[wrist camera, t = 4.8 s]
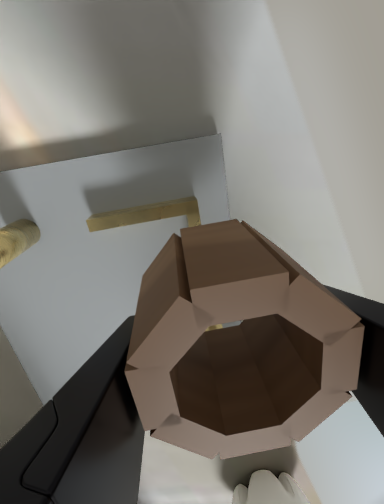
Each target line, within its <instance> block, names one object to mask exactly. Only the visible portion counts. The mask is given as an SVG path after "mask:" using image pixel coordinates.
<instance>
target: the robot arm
mask: <svg viewBox="0 0 384 504" xmlns="http://www.w3.org/2000/svg"><path fill="white" fill-rule="evenodd" d="M322 285H323V284H322ZM323 286H324V287H326V288H327V289H328V290H329V291H330V292H331V293H332V294H334V295H335V296H336V297H337V298H338V299H339V300H340V301H342V302H343V303H344V304H345V305H346V306H347V307H349V308H350V309H351V310H352V311H353V312H354V313H355V314H357V315H358V316H359V317H360V318H361V320H360V321H359V322H360V323H361V324H363V325H364V326H365V327H364V335H363V343H362V351H361V359H360V367H359V375H358V383H357V389H356V390H351V391H352V392H353V394H354V395H355V397H356V398H357V399H358V401H359V402H360V404H361V405H362V407H363V408H364V410H365V411H366V412H367V414H368V415H369V417H370V418H371V419H372V421H373V422H374V424H375V425H376V427H377V428H378V429H379V431H380V432H381V434H382V435H383V437H384V304H383V303H379V302H376V301H373V300H370V299H367V298H364V297H361V296H357V295H354V294H351V293H348V292H345V291H342V290H338V289H335V288H332V287H329V286H326V285H323ZM134 318H135V315H132V316H129V317H128V318H127V319H126V320H125V321H124V322H123V323H122V324H121V325H120V326H119V327H118V328H117V329H116V330H115V331H114V332H113V334H112V335H111V336H110V337H109V338H108V339H107V340H106V341H105V342H104V343H103V344H102V345H101V346H100V347H99V348H98V349H97V350H96V351H95V353H94V354H93V355H92V356H91V357H90V358H89V359H88V360H87V361H86V362H85V363H84V364H83V365H82V366H81V367H80V368H79V369H78V370H77V372H76V373H75V374H74V375H73V376H72V377H71V378H70V379H69V380H68V381H67V382H66V383H65V384H64V385H63V386H62V387H61V388H60V389H59V391H58V392H57V393H56V394H55V395H54V396H53V397H52V399H50V400H49V401H48V402H47V403H46V404H45V405H44V406H43V407H42V408H41V409H40V410H39V412H38V413H37V414H36V415H35V416H34V417H33V418H32V419H31V420H30V421H29V422H28V423H27V424H26V425H25V426H24V427H23V428H22V429H21V430H20V431H19V432H18V433H17V434H16V435H15V436H14V437H13V438H12V439H11V440H10V441H9V442H7V443H6V444H5V445H4V446H3V447H2V448H1V449H0V504H137V501H138V492H139V482H140V472H141V463H142V453H143V444H144V434H145V431H144V428H143V425H142V422H141V419H140V416H139V413H138V410H137V407H136V405H135V402H134V399H133V396H132V393H131V390H130V387H129V384H128V381H127V378H126V375H125V372H124V371H125V366H126V361H127V355H128V350H129V345H130V339H131V334H132V329H133V323H134Z"/></svg>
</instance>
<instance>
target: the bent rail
mask: <svg viewBox="0 0 384 504" xmlns="http://www.w3.org/2000/svg"><path fill="white" fill-rule="evenodd" d="M182 215H186V217H187V222H188V227H193V226H199V225H201V220H200V214H199V207H198V201H197V199H196V197H195V196H191V197H186V198H180V199H175V200H169V201H164V202H158V203H153V204H147V205H141V206H136V207H130V208H125V209H119V210H114V211H108V212H103V213H97V214H92V215H91V216H90V217H89V218H88V219H87V220H86V222H87V226H88V229H89V232H94V231H100V230H105V229H111V228H116V227H122V226H127V225H133V224H138V223H144V222H149V221H155V220H160V219H165V218H171V217H176V216H182ZM221 328H223V326H222V324H218V325H213V326H209V327H208V328H207V329H206V330H205V331H210V330H215V329H221ZM205 331H204V332H205Z"/></svg>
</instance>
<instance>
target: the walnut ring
mask: <svg viewBox="0 0 384 504" xmlns="http://www.w3.org/2000/svg"><path fill="white" fill-rule="evenodd" d="M180 234H181V237H180V236H178V235H177V234H175V233H173V234H172V236H171V237H170V238H169V240H168V241H167V243H166V244H165V245H164V247H163V248H162V249H161V251H160V252H159V254H158V255H157V256H156V258H155V259H154V260H153V262H152V263H151V265H150V266H149V267H148V269H147V270H146V271H145V273H144V274H143V276H142V281H141V286H140V292H139V297H138V302H137V308H136V313H135V318H134V323H133V329H132V334H131V339H130V345H129V350H128V355H127V361H126V366H125V371H124V372H125V375H126V378H127V381H128V384H129V387H130V390H131V393H132V396H133V399H134V402H135V405H136V407H137V410H138V413H139V416H140V419H141V422H142V425H143V428H144V431H147V430H150V436H151V437H154V438H156V439H159V440H162V441H164V442H167V443H170V444H172V445H175V446H178V447H180V448H183V449H186V450H188V451H191V452H194V453H196V454H199V455H202V456H204V457H207V458H210V459H213V458H214V457H215V456H216V455H217V454H218V453H219V454H220V460H222V459H227V458H232V457H237V456H242V455H247V454H252V453H257V452H262V451H267V450H272V449H277V448H282V447H287V446H291V439H294V440H296V441H298V442H299V441H300V440H302V439H303V438H304V437H305V436H306V435H308V434H309V433H310V432H311V431H312V430H313V429H315V428H316V427H317V426H318V425H319V424H320V423H322V422H323V421H324V420H325V419H326V418H328V417H329V416H330V415H331V414H332V413H333V412H335V411H336V410H337V409H338V408H339V407H341V406H342V405H343V404H344V403H345V402H346V401H348V400H349V399H350V398H351V397H352V395H351V394H350V393H349V391H351V390H356V389H357V383H358V375H359V367H360V359H361V351H362V343H363V335H364V327H365V326H364V325H363V324H361V323H360V322H359V321H360V320H361V318H360V317H359V316H358V315H357V314H355V313H354V312H353V311H352V310H351V309H350V308H349V307H347V306H346V305H345V304H344V303H343V302H342V301H340V300H339V299H338V298H337V297H336V296H335V295H334V294H332V293H331V292H330V291H329V290H328V289H327V288H326V287H324V286H323V285H322V284H321V283H320V282H319V281H317V280H316V279H315V278H314V277H313V276H312V275H311V274H309V273H308V272H307V271H306V270H305V269H304V268H303V267H301V266H300V265H299V264H298V263H297V262H296V261H294V260H293V259H292V258H291V257H290V256H289V255H288V254H286V253H285V252H284V251H283V250H282V249H280V248H279V247H278V246H276V245H275V244H274V243H272V242H271V241H270V240H268V239H267V238H266V237H264V236H263V235H262V234H260V233H259V232H258V231H256V230H255V229H254V228H252V227H251V226H250V225H248V224H247V223H245V222H244V221H242V222H241V223H240V222H239V221H238V220H237V219H233V220H227V221H222V222H216V223H210V224H205V225H199V226H193V227H187V228H182V229H180ZM240 320H244V321H243V322H242V323H241V324H240V325H237V326H231V327H226V328H221V329H215V330H210V331H205V330H206V329H207V328H208V327H209V326H213V325H218V324H224V323H229V322H235V321H240ZM204 331H205V332H204Z"/></svg>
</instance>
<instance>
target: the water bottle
mask: <svg viewBox="0 0 384 504" xmlns="http://www.w3.org/2000/svg"><path fill="white" fill-rule="evenodd" d="M232 504H310V502H309V500H308V498H307V497H306V495H305V493H304V492H303V490H302V489H301V488H300V486H299V485H298V484H297V482H296V481H295V480H294V479H293V478H292V477H291V476H290V475H289V474H288V473H284V472H282V473H280V475H279V477H278V479H277V478H276V477H275V475H274V474H273V473H272V472H271V471H269V470H258V471H255V472H254V473H252V476H251V478H250V482H249V487H248V488H247V487H246V486H244V485H242V484H239V485H237V486H236V487H235V490H234V494H233V500H232Z"/></svg>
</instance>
